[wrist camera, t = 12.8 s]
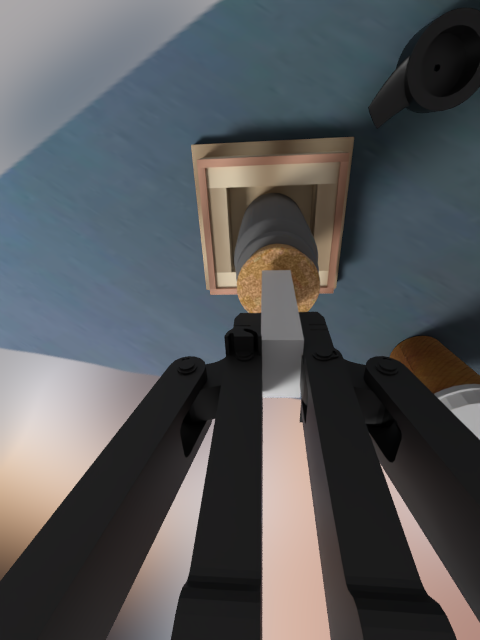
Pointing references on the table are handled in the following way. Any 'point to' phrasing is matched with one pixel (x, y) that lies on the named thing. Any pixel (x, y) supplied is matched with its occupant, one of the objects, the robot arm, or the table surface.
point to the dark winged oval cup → (418, 68)
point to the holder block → (270, 177)
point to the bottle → (275, 251)
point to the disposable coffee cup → (443, 377)
